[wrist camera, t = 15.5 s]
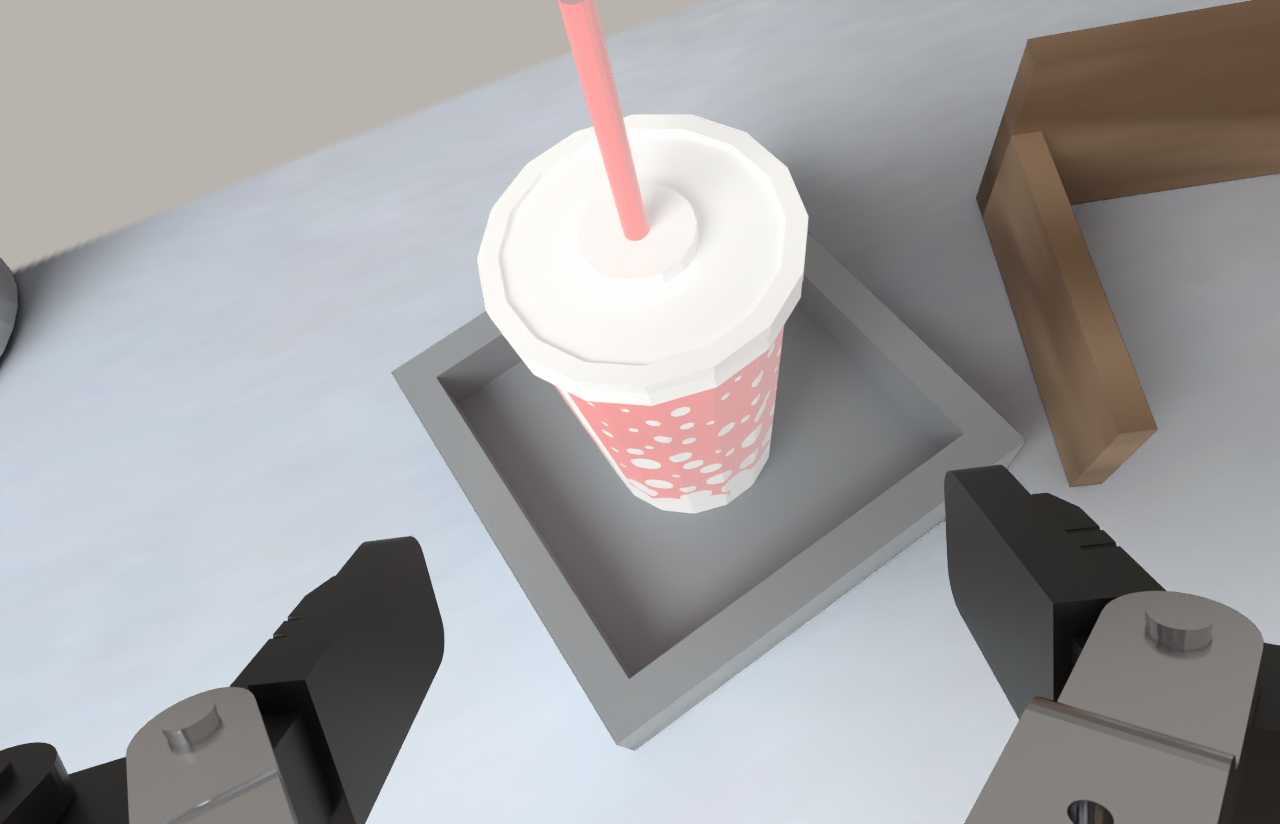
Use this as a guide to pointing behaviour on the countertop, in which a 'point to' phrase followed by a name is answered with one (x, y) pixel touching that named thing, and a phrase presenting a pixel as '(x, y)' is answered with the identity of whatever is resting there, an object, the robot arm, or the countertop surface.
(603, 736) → the countertop surface
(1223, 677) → the robot arm
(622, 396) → the beverage cup
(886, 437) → the grey tray
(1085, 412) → the walnut bay
